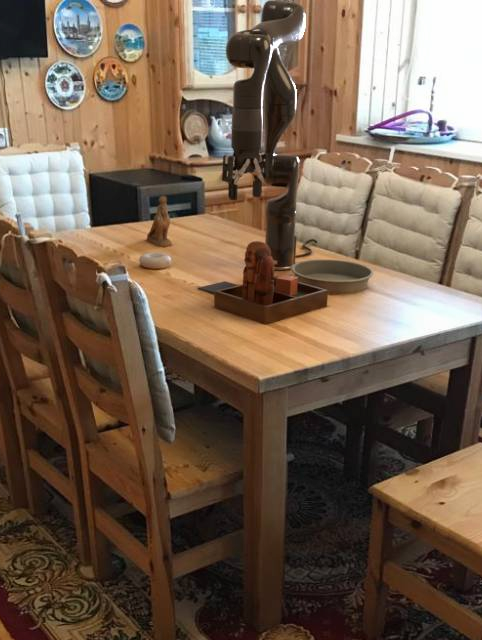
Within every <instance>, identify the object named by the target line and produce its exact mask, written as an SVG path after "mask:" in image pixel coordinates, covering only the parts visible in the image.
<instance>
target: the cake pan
mask: <svg viewBox="0 0 482 640" xmlns="http://www.w3.org/2000/svg"><path fill="white" fill-rule="evenodd" d="M290 270H291V272H292V273H293V274H294V277H298V282H301V283H305V284H308V285H312V286H315V287H319V288H323V289H326V290H328V295H329V294H330V295H348V294H356V293H359V292H362V291H364V290H365V289H366V288H367V287H368V284H369V281H370V279H371V278H372V277H373V276H374V270H373V269H371V268H370V267H368V266H367V265H365V264H364V265H363V264H361V263H357V262H353V261H347V260H341V259H340V260H339V259H308V260H302V261H299V262H295V264H294V265H293V266H292V267H291V269H290Z"/></svg>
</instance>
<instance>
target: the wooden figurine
mask: <svg viewBox="0 0 482 640" xmlns="http://www.w3.org/2000/svg"><path fill="white" fill-rule="evenodd" d="M244 264H245V266H244V268H243V270H242V284H243V290H242V298H243V299H246V300H249V301H253V302H256V303H259V304H262V305H265V306H267V305H270V304H272V301H273V293H274V285H273V283H274V280H273V279H274V276H275V270H274V261H273V259H272V257H271V250H270V248H269V246H268V245H267V244H265V241H264V242H263V241H259V240H254V241H251V242H249V243H248V244H247V246H246V250H245V252H244Z"/></svg>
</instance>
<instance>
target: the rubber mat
mask: <svg viewBox="0 0 482 640" xmlns="http://www.w3.org/2000/svg"><path fill="white" fill-rule="evenodd" d="M237 285H238V284H236V283H232V282H229V281H227V280H225V281H221V282H216V283H211V284H208V285H204V286H199V287H197V290H199V291H203V292H206V293H210V294H212V295H214V291H217V290H221V289H225V288H229V287H233V286H237Z"/></svg>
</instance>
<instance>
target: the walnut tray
mask: <svg viewBox="0 0 482 640" xmlns="http://www.w3.org/2000/svg"><path fill="white" fill-rule="evenodd" d="M277 277H280V275H274V279H273V280H274V283H273V285H274V293H273V301H272V304H270V305H267V306H265V305H262V304H259V303H256V302H253V301H249V300H246V299H243V298H242V290H243V283H242V284H236V285H237V286H233V287H229V288H225V289H221V290H217V291H214V294H213V308H215V309H218V310H221V311H224V312H227V313H229V314H233V315H235V316H238V317H241V318H244V319H248V320H252V321H254V322H256V323H257V322H258V323H261V324H263V325H267V324H268V325H269V324H271V323H275V322H279V321H281V320H285V319H288V318H292V317H294V316H299V315H301V314H305V313H308V312H312V311H315V310H318V309H322V308H325V307H328V298H329V294H328V290H326V289H323V288H319V287H315V286H312V285H308V284H305V283H301V282H298V285H297V294H295V295H293V296H291V295H288V294H284V293H281V292H277V291H276V278H277Z"/></svg>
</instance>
